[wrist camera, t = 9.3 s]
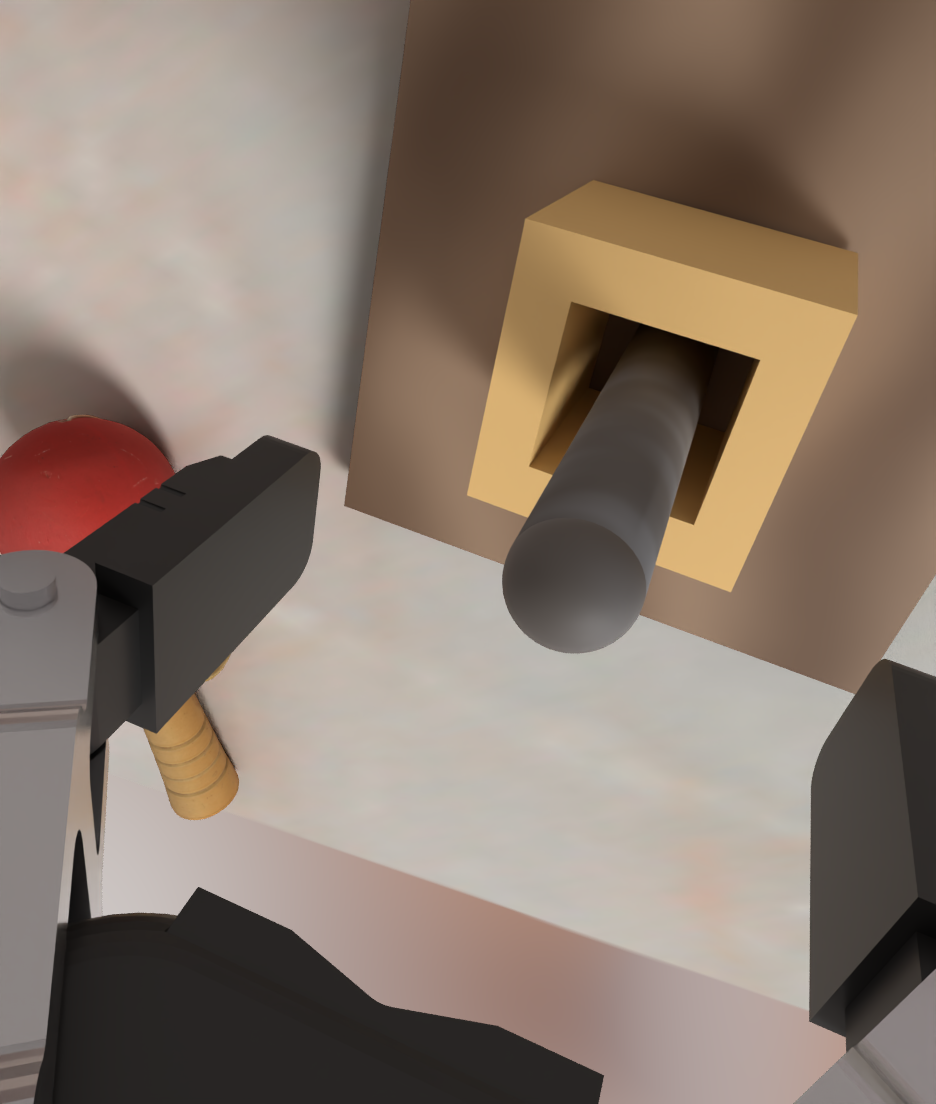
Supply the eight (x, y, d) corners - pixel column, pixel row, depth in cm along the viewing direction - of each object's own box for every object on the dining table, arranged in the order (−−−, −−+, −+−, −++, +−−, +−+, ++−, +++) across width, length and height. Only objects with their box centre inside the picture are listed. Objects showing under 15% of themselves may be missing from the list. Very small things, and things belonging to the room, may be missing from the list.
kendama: (327, 763, 38) (212, 406, 27) (234, 882, 34) (52, 517, 23) (200, 709, 41) (50, 371, 30) (100, 811, 37) (-115, 463, 26)
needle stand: (1241, 47, 16) (2121, 104, 5) (855, 662, 25) (885, 1147, 14) (453, -133, 19) (-46, -341, 8) (364, 484, 28) (77, 780, 17)
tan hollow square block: (858, 253, 18) (857, 315, 14) (754, 489, 22) (730, 592, 18) (593, 179, 20) (525, 218, 16) (534, 414, 23) (466, 495, 19)
